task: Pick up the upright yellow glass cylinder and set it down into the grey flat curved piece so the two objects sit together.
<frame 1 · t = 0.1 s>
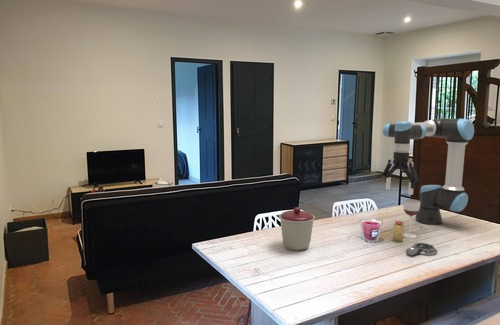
hand: (398, 192, 192), 28 cm above the table, fingers open, 13 cm apart
canister: (296, 247, 191), on the table
grey flat curved piece: (423, 251, 185), on the table
yellow glass cylinder: (397, 240, 199), on the table
wineglass: (409, 235, 207), on the table
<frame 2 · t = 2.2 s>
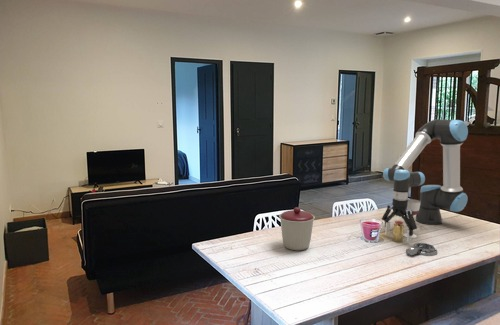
hand: (397, 237, 198), 2 cm above the table, fingers open, 13 cm apart
nothing on the table moved.
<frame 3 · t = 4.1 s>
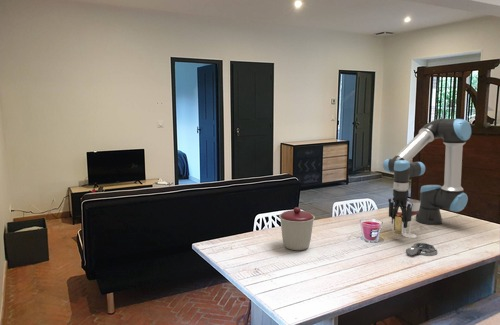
hand: (399, 231, 198), 5 cm above the table, fingers closed on yellow glass cylinder, 5 cm apart
yellow glass cylinder: (399, 232, 198), point 5 cm above the table, touching gripper
everything else where it was.
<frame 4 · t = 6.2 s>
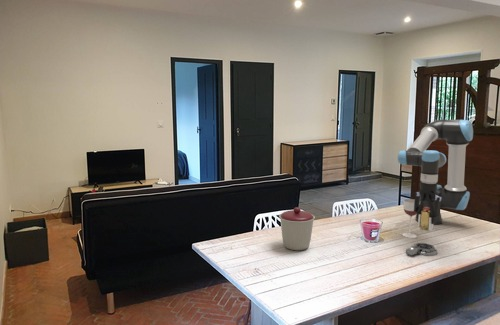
hand: (425, 228, 183), 12 cm above the table, fingers closed on yellow glass cylinder, 5 cm apart
yellow glass cylinder: (425, 228, 183), point 12 cm above the table, touching gripper
everything else where it was.
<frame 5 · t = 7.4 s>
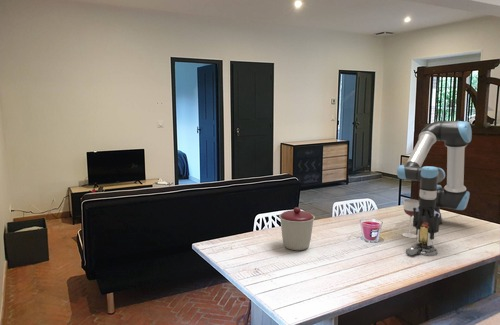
hand: (424, 243, 184), 4 cm above the table, fingers closed on yellow glass cylinder, 5 cm apart
yellow glass cylinder: (424, 243, 184), point 4 cm above the table, touching gripper
everything else where it was.
when the fingers open (3 cm above the table, at t = 8.3 s): yellow glass cylinder drops 2 cm, resting on grey flat curved piece.
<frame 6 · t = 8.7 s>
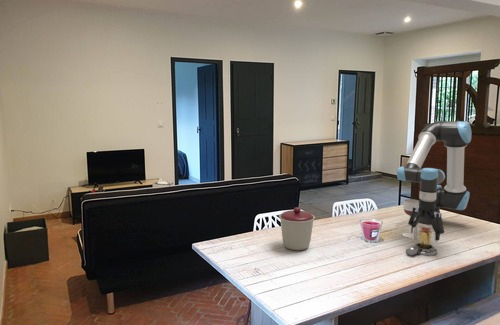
hand: (424, 242, 184), 4 cm above the table, fingers open, 10 cm apart
yellow glass cylinder: (424, 248, 185), point 1 cm above the table, touching grey flat curved piece
everything else where it was.
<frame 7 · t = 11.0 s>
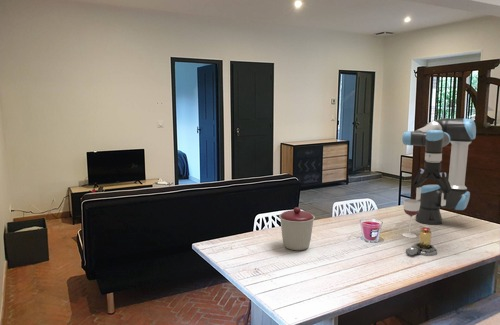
hand: (430, 202, 186), 24 cm above the table, fingers open, 13 cm apart
nothing on the table moved.
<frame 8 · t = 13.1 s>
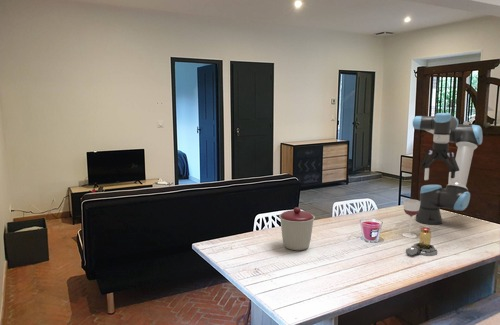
hand: (438, 181, 197), 32 cm above the table, fingers open, 13 cm apart
nothing on the table moved.
at the end: yellow glass cylinder 0.3 cm off-centre on the grey flat curved piece, point 1.0 cm above the grey flat curved piece's base; yellow glass cylinder tilted 0°; the gripper is holding nothing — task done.
